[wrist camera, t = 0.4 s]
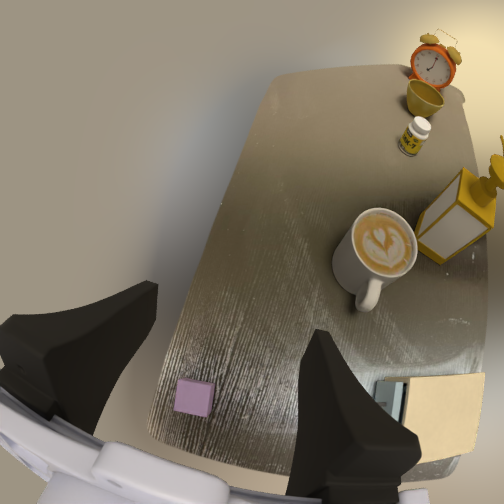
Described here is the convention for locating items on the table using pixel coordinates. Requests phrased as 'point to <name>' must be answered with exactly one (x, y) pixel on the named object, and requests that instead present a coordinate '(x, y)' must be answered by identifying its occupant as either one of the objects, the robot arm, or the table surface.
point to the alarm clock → (434, 62)
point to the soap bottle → (460, 213)
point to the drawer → (391, 398)
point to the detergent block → (194, 397)
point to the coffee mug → (374, 255)
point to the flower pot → (423, 98)
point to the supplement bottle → (414, 136)
